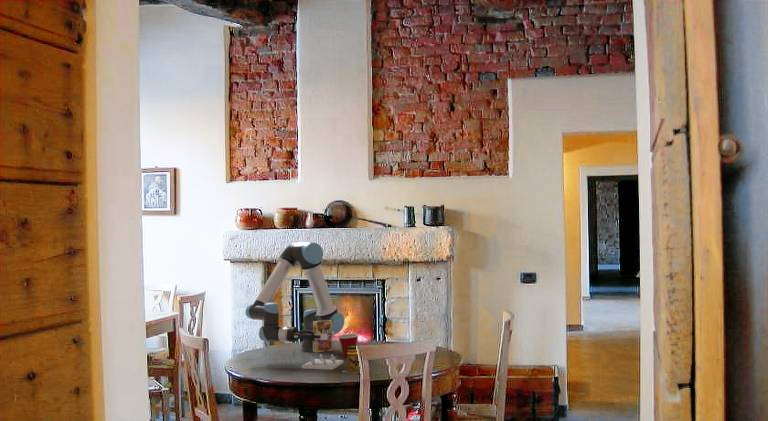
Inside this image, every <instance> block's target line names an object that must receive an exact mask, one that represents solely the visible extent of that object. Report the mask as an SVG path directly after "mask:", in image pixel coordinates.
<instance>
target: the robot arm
mask: <svg viewBox="0 0 768 421" xmlns="http://www.w3.org/2000/svg"><path fill="white" fill-rule="evenodd" d="M323 256H324V250H323V248H322V246H321V245H320V243H319V244H318V243H317V242H314V241H295V242H292V243H291V244H289V245H287V246H286V248H284V250H283V251H282V252H281V253H280V255H279V257H278V259H277V264H276V266H275V267H274V269H273V270H272V272H271V274H270V276H269V277H268V279H267V281H266V283H264V286H263V287H262V289H261V290H260V292H259V294H258V295H257V297H256V299H255V300H254V301H253V302H254V303H253V304H252V303H251V304H249V305H248V306H247V307H246V309H245V316H246V317H247V318H248V319H251V320H254V321H255V320H257V321H262V322H263V325H262V326H260V327H259V331H258V336H259V339H260V340H261V341H265V342H282V343H283V344H284V343H285V342H288V343H289V342H292V343H296V342H297V341H298V340H302V341H301V342H302V343H301V346H300V347H301V348H300V351H302V352H307V353H309V352H312V353H314V352H313V341H314V338H315V339H317V340H328V337H327V334H315V335H314V334H313V321H322V320H331V321H332V338H334V337H335V334H338V333H340V332H341V331H342V330H343V328H344V325H345V317H344V315H343V314H342V313H341V312H339V311H338V308H337V306H336V305H334V304H333V302H332V298H331V295H330V292H329V288H328V285H327V283H326V280H325V277H324V274H323V271H322V270H323V269H322V268H321V267H322V266H321V265H322V264H323V259H324V257H323ZM297 264H299V265H300V268H301V269H300V270H301V271H304V272H305V274H306V278H307V280H308V283H309V287H310V289H311V294H312V296H313V298H314V302H315V305H316V307H317V308H313V309H306V310H304V311H303V317H302V318H303V329H300V330H299V329H298V327H297V326H279V321H280V319H279V318H280V316H279V314H280V310H279V303H278V302H273V300H274V298H275V296H276V294H277V292H278V291H279V289H280V287H281V286H282V284H283V282H284V281H285V279H286V277H287V276H288V274H289V273H290V270H294V268H295V266H296V265H297Z"/></svg>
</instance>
